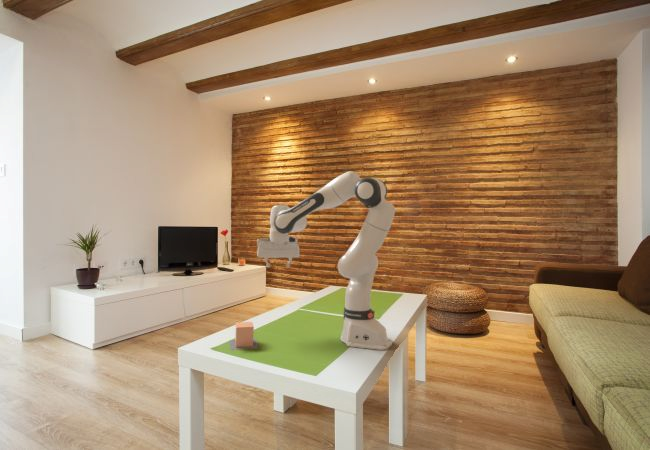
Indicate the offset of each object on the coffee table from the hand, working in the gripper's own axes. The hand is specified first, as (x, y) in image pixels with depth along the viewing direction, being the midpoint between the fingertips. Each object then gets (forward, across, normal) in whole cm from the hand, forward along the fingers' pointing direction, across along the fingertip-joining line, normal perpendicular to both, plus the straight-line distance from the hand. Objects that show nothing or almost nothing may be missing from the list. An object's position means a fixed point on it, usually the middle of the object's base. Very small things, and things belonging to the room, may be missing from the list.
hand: (278, 266), depth 169 cm
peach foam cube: (+29, -16, -21) cm, 39 cm away
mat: (+29, -17, -21) cm, 40 cm away
